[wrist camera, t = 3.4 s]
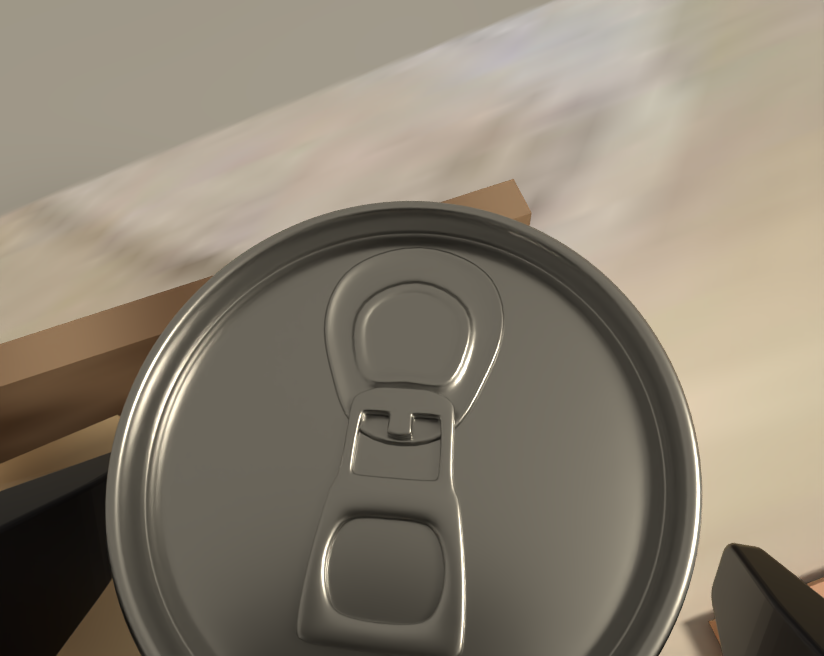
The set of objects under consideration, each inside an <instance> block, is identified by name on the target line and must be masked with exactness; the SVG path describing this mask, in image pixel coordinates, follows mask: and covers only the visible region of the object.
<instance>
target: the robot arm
mask: <svg viewBox="0 0 824 656" xmlns="http://www.w3.org/2000/svg"><path fill="white" fill-rule="evenodd" d="M110 455H111V452H110V453H107V454H104V455H101V456H98V457H95V458H93V459H90V460H87V461H84V462H81V463H78V464H75V465H73V466H70V467H67V468H64V469H61V470H58V471H56V472H53V473H50V474H47V475H44V476H41V477H38V478H36V479H33V480H30V481H27V482H24V483H21V484H19V485H16V486H13V487H10V488H7V489H4V490H1V491H0V656H57V654H58V653H59V652H60V650H61V649H62V648H63V646H64V645H65V643H66V642H67V641H68V639H69V638H70V637H71V635H72V634H73V633H74V631H75V630H76V629H77V627H78V626H79V624H80V623H81V622H82V620H83V619H84V618H85V616H86V615H87V614H88V612H89V611H90V610H91V608H92V607H93V605H94V604H95V603H96V601H97V600H98V599H99V597H100V596H101V594H102V593H103V591H104V590H105V589H106V587H107V586H108V584H109V583H110V581H111V579H112V574H111V569H110V564H109V557H108V550H107V540H106V526H105V498H106V484H107V474H108V467H109V461H110ZM711 598H712V606H713V611H714V615H715V620H716V625H717V630H718V635H719V639H720V644H721V649H722V654H723V656H824V598H823V597H822V596H821V595H820V594H818V593H817V592H816V591H814V590H813V589H812V588H811V587H809V586H808V585H807V584H806V583H804V582H803V581H802V580H801V579H799V578H798V577H797V576H795V575H794V574H793V573H792V572H790V571H789V570H788V569H787V568H785V567H784V566H783V565H782V564H780V563H779V562H778V561H776V560H775V559H774V558H773V557H771V556H770V555H769V554H768V553H766V552H765V551H764V550H762V549H761V548H758V547H755V546H749V545H742V544H736V543H731V544H728V545H727V546H726V547H725V549H724V551H723V554H722V557H721V560H720V563H719V567H718V570H717V573H716V576H715V579H714V582H713V586H712V595H711Z"/></svg>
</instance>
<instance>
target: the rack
mask: <svg viewBox="0 0 824 656" xmlns="http://www.w3.org/2000/svg"><path fill="white" fill-rule="evenodd" d="M440 203H449V204H456V205H462V206H467V207H472V208H477V209H481V210H485V211H489V212H492V213H496V214H499V215H502V216H505V217H508V218H511V219H513V220H516V221H519V222H521V223H524V224H526V225H528V226H529V225H530V219H531V211H530V209H529V207H528V205H527V203H526V202H525V200H524V198H523V196H522V194H521V192H520V190H519V188H518V187H517V185H516V183H515V181H514V179H512V180H509V181H505V182H502V183H499V184H496V185H493V186H490V187H487V188H484V189H481V190H477V191H474V192H471V193H468V194H465V195H462V196H459V197H456V198H453V199H450V200H446V201H443V202H440ZM211 277H213V276H210V277H207V278H204V279H201V280H198V281H195V282H192V283H189V284H186V285H183V286H179V287H176V288H173V289H170V290H167V291H164V292H161V293H158V294H155V295H151V296H148V297H145V298H142V299H139V300H136V301H133V302H130V303H127V304H124V305H120V306H117V307H114V308H111V309H108V310H105V311H102V312H99V313H96V314H93V315H89V316H86V317H83V318H80V319H77V320H74V321H71V322H68V323H65V324H61V325H58V326H55V327H52V328H49V329H46V330H43V331H40V332H37V333H34V334H30V335H27V336H24V337H21V338H18V339H15V340H12V341H9V342H6V343H2V344H0V491H1V490H4V489H7V488H10V487H13V486H16V485H19V484H21V483H24V482H27V481H30V480H33V479H36V478H38V477H41V476H44V475H47V474H50V473H53V472H56V471H58V470H61V469H64V468H67V467H70V466H73V465H75V464H78V463H81V462H84V461H87V460H90V459H93V458H95V457H98V456H101V455H104V454H107V453H110V452H111V450H112V445H113V441H114V437H115V433H116V429H117V426H118V422H119V419H120V416H121V413H122V410H123V407H124V404H125V402H126V399H127V397H128V394H129V392H130V389H131V387H132V385H133V383H134V380H135V378H136V376H137V374H138V372H139V370H140V368H141V366H142V365H143V363H144V361H145V359H146V357H147V356H148V354H149V352H150V351H151V349H152V347H153V346H154V344H155V343H156V341H157V340H158V338H159V337H160V335H161V334H162V332H163V331H164V329H165V328H166V327H167V325H168V324H169V323H170V321H171V320H172V319H173V318H174V316H175V315H176V314H177V313H178V311H179V310H180V309H181V308H182V307H183V306H184V304H185V303H186V302H187V301H188V300H189V299H190V298H191V297H192V296H193V295H194V294H195V293H196V292H197V291H198V290H199V289H200V288H201V287H202V286H203V285H204V284H205V283H206V282H207V281H208V280H209V279H210V278H211ZM57 656H141V654H140V653H139V651H138V649H137V647H136V645H135V642H134V640H133V638H132V636H131V634H130V631H129V629H128V627H127V624H126V622H125V619H124V616H123V613H122V611H121V608H120V605H119V601H118V598H117V595H116V591H115V587H114V583H113V579H111V581H110V583H109V584H108V586H107V587H106V589H105V590H104V591H103V593H102V594H101V596H100V597H99V599H98V600H97V601H96V603H95V604H94V605H93V607H92V608H91V610H90V611H89V612H88V614H87V615H86V616H85V618H84V619H83V620H82V622H81V623H80V624H79V626H78V627H77V629H76V630H75V631H74V633H73V634H72V635H71V637H70V638H69V639H68V641H67V642H66V643H65V645H64V646H63V648H62V649H61V650H60V652H59V653H58V654H57Z"/></svg>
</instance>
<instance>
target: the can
mask: <svg viewBox="0 0 824 656" xmlns="http://www.w3.org/2000/svg"><path fill="white" fill-rule="evenodd" d="M701 518H702V475H701V464H700V456H699V449H698V443H697V438H696V432H695V428H694V424H693V420H692V416H691V413H690V409H689V406H688V403H687V400H686V397H685V394H684V391H683V388H682V386H681V384H680V381H679V379H678V376H677V374H676V372H675V370H674V368H673V365H672V363H671V361H670V359H669V357H668V356H667V354H666V352H665V350H664V348H663V346H662V345H661V343H660V341H659V340H658V338H657V336H656V335H655V333H654V332H653V330H652V329H651V327H650V326H649V324H648V323H647V322H646V320H645V319H644V317H643V316H642V315H641V314H640V312H639V311H638V310H637V308H636V307H635V306H634V305H633V304H632V302H631V301H630V300H629V299H628V298H627V297H626V296H625V294H624V293H623V292H622V291H621V290H620V289H619V288H618V287H617V286H616V285H615V284H614V283H613V282H612V281H611V280H610V279H609V278H608V277H607V276H605V275H604V274H603V273H602V272H601V271H600V270H599V269H597V268H596V267H595V266H594V265H592V264H591V263H590V262H589V261H587V260H586V259H585V258H583V257H582V256H581V255H579V254H578V253H576V252H575V251H573V250H572V249H570V248H569V247H567V246H566V245H564V244H563V243H561V242H559V241H558V240H556V239H554V238H552V237H550V236H549V235H547V234H545V233H543V232H541V231H539V230H537V229H535V228H533V227H530V226H528V225H526V224H524V223H521V222H519V221H516V220H513V219H511V218H508V217H505V216H502V215H499V214H496V213H492V212H489V211H485V210H481V209H477V208H472V207H467V206H462V205H456V204H449V203H440V202H426V201H396V202H383V203H374V204H367V205H361V206H356V207H350V208H346V209H342V210H338V211H334V212H330V213H327V214H324V215H320V216H317V217H314V218H312V219H309V220H306V221H303V222H301V223H299V224H296V225H294V226H291V227H289V228H287V229H285V230H283V231H281V232H279V233H277V234H275V235H273V236H271V237H269V238H267V239H265V240H263V241H262V242H260V243H258V244H257V245H255V246H253V247H252V248H250V249H249V250H247V251H246V252H244V253H243V254H241V255H240V256H238V257H237V258H235V259H234V260H233V261H231V262H230V263H229V264H227V265H226V266H225V267H224V268H222V269H221V270H220V271H219V272H217V273H216V274H215V275H214V276H213V277H211V278H210V279H209V280H208V281H207V282H206V283H205V284H204V285H203V286H202V287H201V288H200V289H199V290H198V291H197V292H196V293H195V294H194V295H193V296H192V297H191V298H190V299H189V300H188V301H187V302H186V303H185V304H184V306H183V307H182V308H181V309H180V310H179V311H178V313H177V314H176V315H175V316H174V318H173V319H172V320H171V321H170V323H169V324H168V325H167V327H166V328H165V329H164V331H163V332H162V334H161V335H160V337H159V338H158V340H157V341H156V343H155V344H154V346H153V347H152V349H151V351H150V352H149V354H148V356H147V357H146V359H145V361H144V363H143V365H142V366H141V368H140V370H139V372H138V374H137V376H136V378H135V380H134V383H133V385H132V387H131V389H130V392H129V394H128V397H127V399H126V402H125V404H124V407H123V410H122V413H121V416H120V419H119V422H118V426H117V429H116V433H115V437H114V441H113V445H112V450H111V455H110V461H109V467H108V474H107V484H106V498H105V526H106V540H107V550H108V557H109V564H110V569H111V574H112V579H113V583H114V587H115V591H116V595H117V598H118V601H119V605H120V608H121V611H122V613H123V616H124V619H125V622H126V624H127V627H128V629H129V631H130V634H131V636H132V638H133V640H134V642H135V645H136V647H137V649H138V651H139V653H140V654H141V656H659V654H660V652H661V651H662V649H663V647H664V645H665V643H666V641H667V639H668V637H669V636H670V633H671V631H672V629H673V627H674V625H675V623H676V620H677V618H678V616H679V613H680V611H681V608H682V606H683V603H684V600H685V597H686V594H687V591H688V588H689V584H690V581H691V577H692V574H693V570H694V565H695V561H696V556H697V550H698V544H699V538H700V529H701Z"/></svg>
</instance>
